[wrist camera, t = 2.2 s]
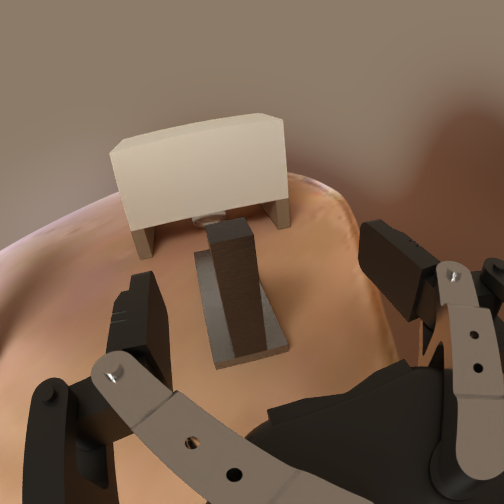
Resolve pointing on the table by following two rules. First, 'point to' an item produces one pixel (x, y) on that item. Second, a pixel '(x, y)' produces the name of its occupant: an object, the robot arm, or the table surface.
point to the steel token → (208, 219)
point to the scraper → (236, 297)
